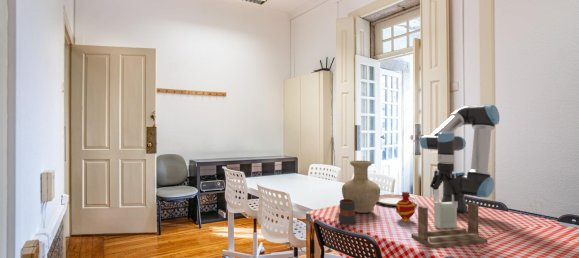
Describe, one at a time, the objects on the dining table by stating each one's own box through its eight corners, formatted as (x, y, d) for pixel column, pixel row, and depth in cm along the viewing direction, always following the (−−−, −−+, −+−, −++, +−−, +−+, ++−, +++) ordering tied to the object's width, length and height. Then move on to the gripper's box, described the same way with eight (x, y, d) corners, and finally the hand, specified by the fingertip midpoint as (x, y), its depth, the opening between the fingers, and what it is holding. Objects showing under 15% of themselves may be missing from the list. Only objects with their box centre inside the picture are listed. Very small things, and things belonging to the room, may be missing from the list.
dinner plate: (411, 210, 198) (411, 204, 198) (368, 204, 212) (367, 199, 212) (420, 201, 221) (420, 196, 221) (380, 197, 236) (380, 192, 236)
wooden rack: (463, 232, 155) (463, 200, 155) (487, 242, 142) (487, 207, 141) (411, 236, 149) (411, 203, 149) (431, 247, 135) (431, 210, 135)
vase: (383, 209, 199) (383, 160, 199) (375, 218, 179) (375, 164, 179) (348, 205, 209) (348, 159, 209) (336, 213, 189) (336, 162, 189)
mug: (357, 219, 177) (357, 198, 177) (353, 225, 166) (353, 203, 166) (342, 218, 180) (342, 197, 180) (337, 224, 169) (337, 201, 169)
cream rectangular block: (451, 224, 168) (451, 201, 168) (457, 227, 163) (457, 203, 163) (434, 226, 165) (434, 202, 165) (439, 228, 161) (439, 204, 161)
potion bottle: (417, 223, 170) (417, 194, 170) (396, 222, 172) (396, 194, 172) (414, 217, 180) (414, 191, 180) (394, 216, 182) (394, 190, 182)
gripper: (423, 160, 176) (423, 199, 176) (457, 165, 151) (456, 210, 151) (435, 160, 177) (435, 199, 177) (470, 165, 153) (470, 210, 153)
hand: (445, 204), depth 164 cm, fingers open, 13 cm apart
